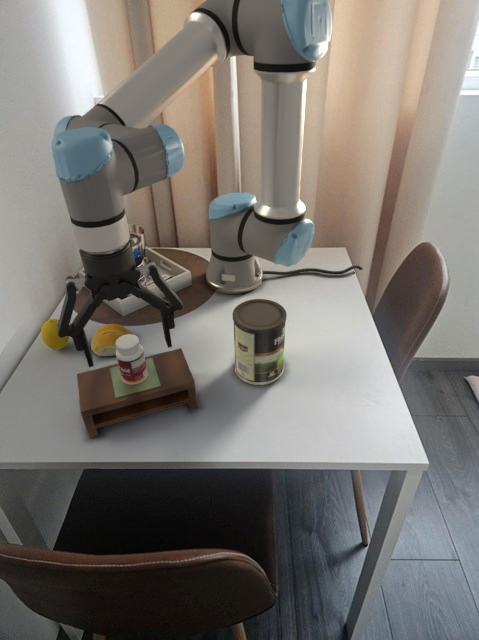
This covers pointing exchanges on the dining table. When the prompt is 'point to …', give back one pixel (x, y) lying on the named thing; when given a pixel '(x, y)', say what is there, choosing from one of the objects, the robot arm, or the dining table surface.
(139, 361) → the pill bottle
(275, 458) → the dining table surface
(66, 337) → the lemon
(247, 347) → the coffee can
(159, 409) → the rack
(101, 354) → the bread roll
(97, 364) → the dining table surface
